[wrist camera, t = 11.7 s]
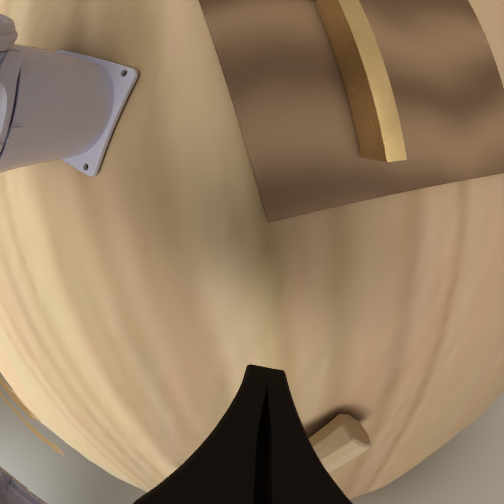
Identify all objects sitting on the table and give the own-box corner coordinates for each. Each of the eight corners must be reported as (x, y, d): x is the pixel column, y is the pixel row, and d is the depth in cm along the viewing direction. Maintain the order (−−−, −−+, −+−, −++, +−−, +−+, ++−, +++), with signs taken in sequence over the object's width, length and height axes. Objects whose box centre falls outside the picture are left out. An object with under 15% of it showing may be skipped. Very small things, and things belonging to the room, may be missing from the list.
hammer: (369, 483, 13) (173, 551, 17) (395, 486, 14) (202, 558, 18) (322, 375, 29) (183, 476, 33) (346, 390, 30) (206, 485, 33)
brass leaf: (290, -25, 10) (290, -60, 6) (327, -28, 9) (336, -62, 6) (349, 159, 14) (372, 164, 10) (388, 153, 14) (419, 158, 10)
